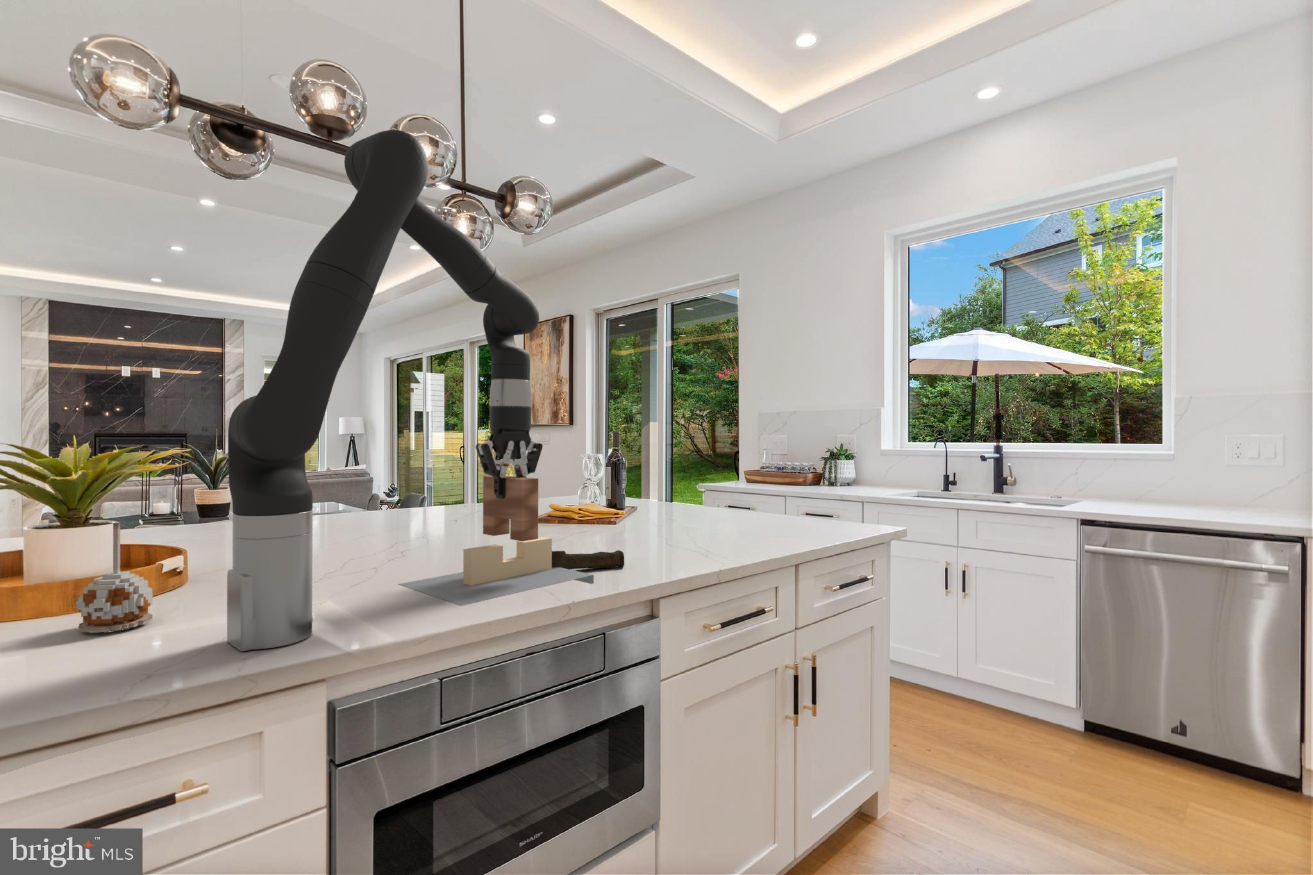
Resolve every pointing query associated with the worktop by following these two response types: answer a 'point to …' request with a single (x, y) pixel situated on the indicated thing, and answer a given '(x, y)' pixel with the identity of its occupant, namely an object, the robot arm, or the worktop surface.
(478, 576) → the slotted plate stand
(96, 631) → the decorative ornament
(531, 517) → the mahogany slotted plate
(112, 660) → the worktop surface
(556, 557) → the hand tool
